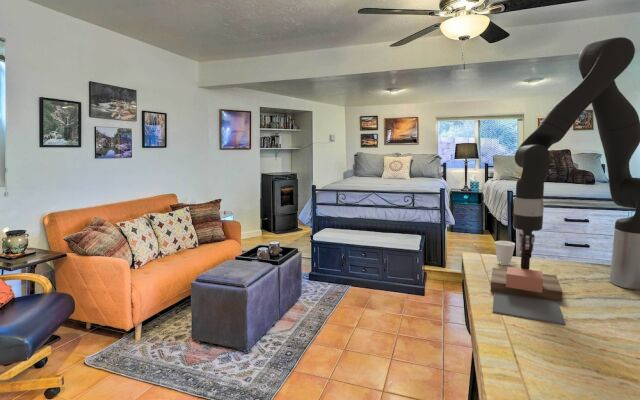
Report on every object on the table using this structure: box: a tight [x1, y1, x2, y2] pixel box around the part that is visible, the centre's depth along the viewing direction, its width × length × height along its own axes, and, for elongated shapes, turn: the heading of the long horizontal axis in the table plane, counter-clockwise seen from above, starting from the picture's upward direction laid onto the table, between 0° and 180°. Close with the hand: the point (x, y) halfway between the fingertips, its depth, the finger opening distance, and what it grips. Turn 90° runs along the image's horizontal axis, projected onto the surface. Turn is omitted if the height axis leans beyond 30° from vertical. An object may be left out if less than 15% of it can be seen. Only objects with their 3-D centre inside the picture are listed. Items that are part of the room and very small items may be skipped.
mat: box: [492, 292, 566, 326], centre depth 96 cm, size 14×16×1 cm
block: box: [506, 266, 544, 293], centre depth 103 cm, size 7×9×4 cm
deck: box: [490, 267, 563, 303], centre depth 109 cm, size 14×18×3 cm
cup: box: [494, 240, 516, 267], centre depth 132 cm, size 7×10×8 cm
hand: (524, 269), depth 107 cm, fingers closed
